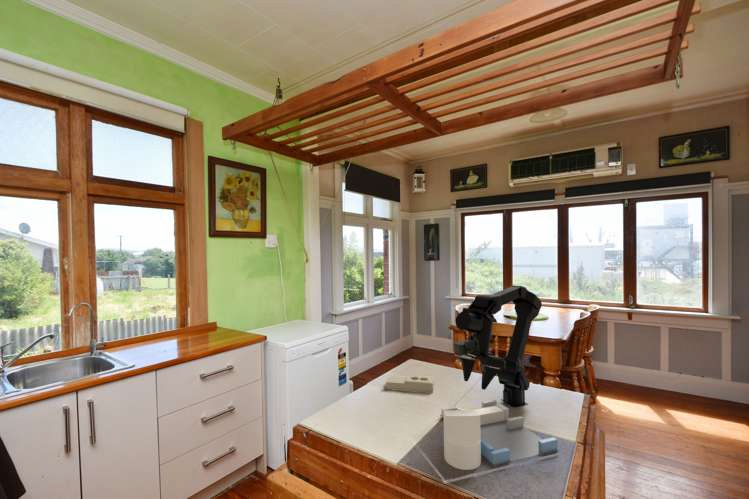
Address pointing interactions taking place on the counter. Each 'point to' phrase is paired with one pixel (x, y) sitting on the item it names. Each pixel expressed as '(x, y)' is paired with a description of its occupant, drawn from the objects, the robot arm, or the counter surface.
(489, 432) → the board
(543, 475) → the counter surface
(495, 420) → the long cream plank
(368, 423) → the counter surface
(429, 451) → the counter surface
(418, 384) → the electrical outlet
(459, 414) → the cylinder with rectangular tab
